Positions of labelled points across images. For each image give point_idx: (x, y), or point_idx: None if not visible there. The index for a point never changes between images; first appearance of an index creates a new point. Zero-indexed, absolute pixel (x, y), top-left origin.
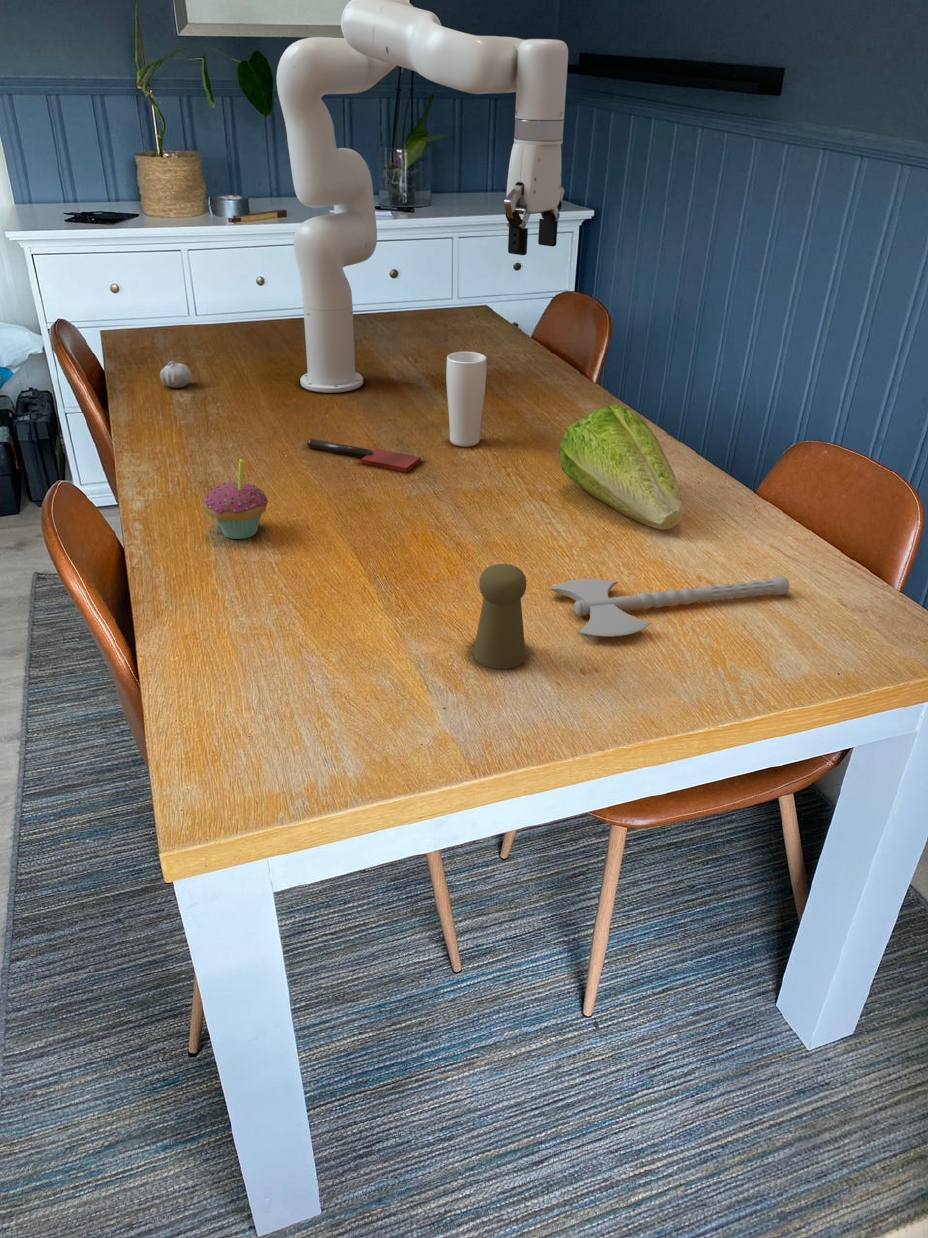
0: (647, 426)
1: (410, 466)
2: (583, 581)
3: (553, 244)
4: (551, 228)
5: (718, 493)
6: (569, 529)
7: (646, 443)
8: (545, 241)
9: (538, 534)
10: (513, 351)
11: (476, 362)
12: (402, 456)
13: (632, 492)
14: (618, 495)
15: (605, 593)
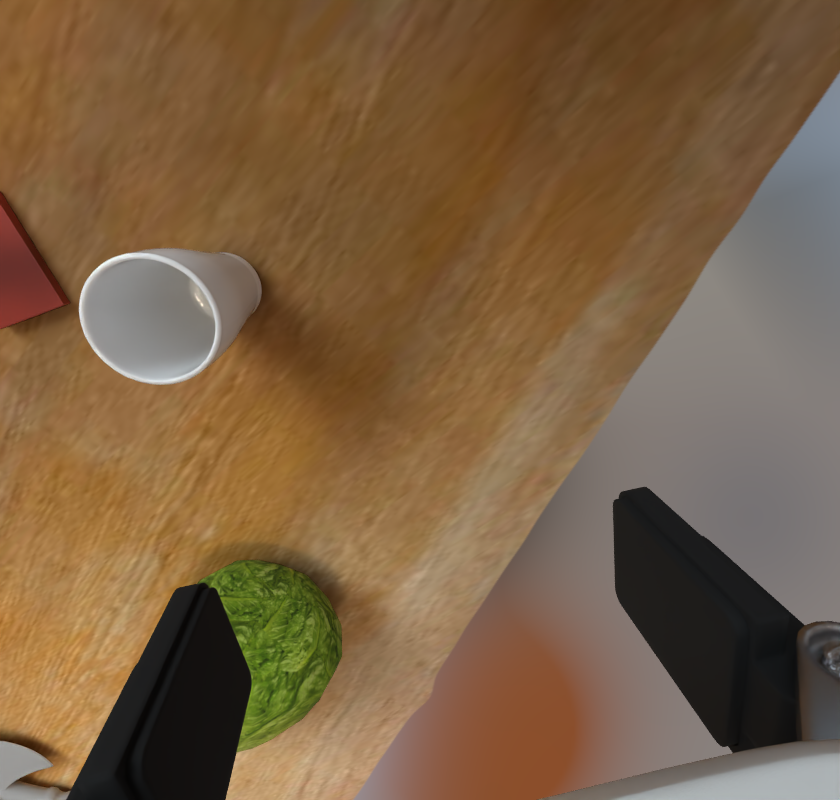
0: (308, 709)
1: (18, 322)
2: (8, 753)
3: (620, 602)
4: (685, 674)
5: (398, 672)
6: (126, 636)
7: (239, 750)
8: (623, 561)
9: (73, 624)
10: None
11: (143, 382)
12: (26, 274)
13: None
14: None
15: (9, 782)
